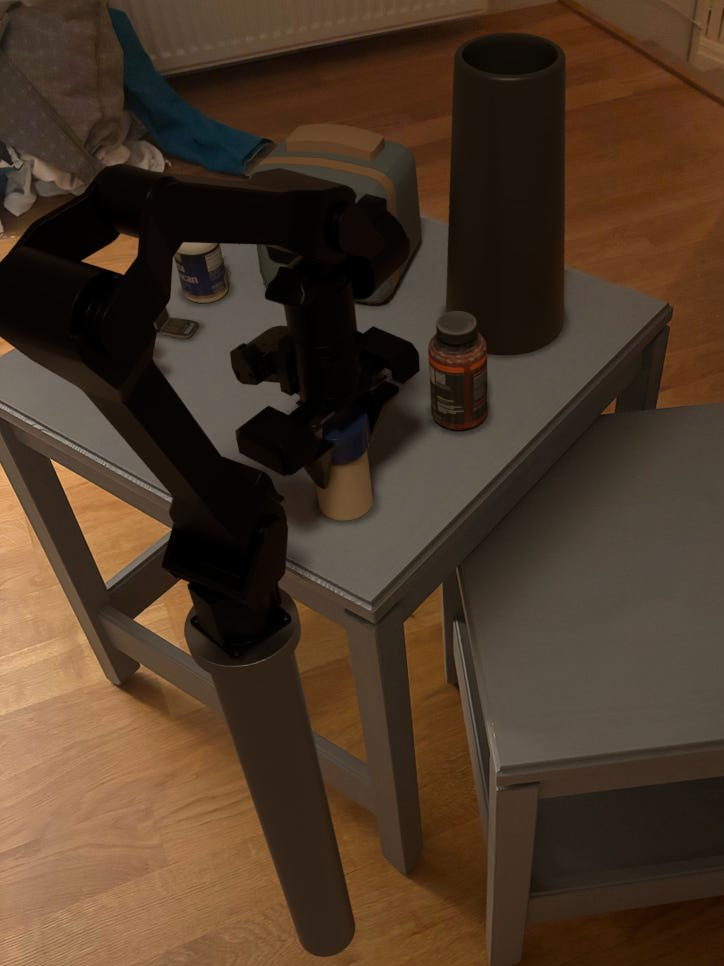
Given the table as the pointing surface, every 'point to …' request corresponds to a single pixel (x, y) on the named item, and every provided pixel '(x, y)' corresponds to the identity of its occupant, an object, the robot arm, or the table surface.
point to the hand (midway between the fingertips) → (341, 470)
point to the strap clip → (174, 325)
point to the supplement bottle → (458, 372)
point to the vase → (508, 190)
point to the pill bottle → (201, 271)
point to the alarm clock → (349, 181)
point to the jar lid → (348, 433)
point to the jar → (347, 490)
